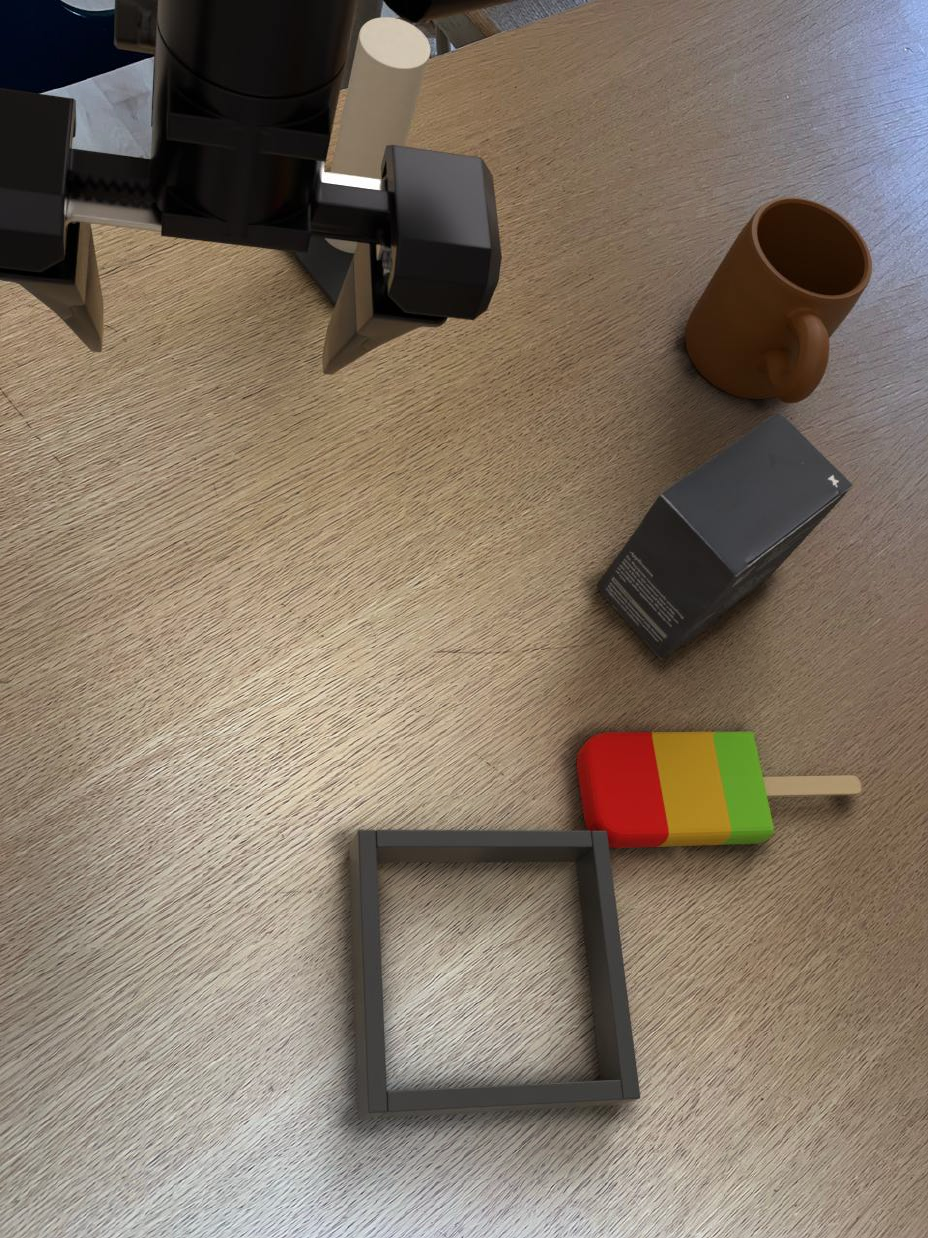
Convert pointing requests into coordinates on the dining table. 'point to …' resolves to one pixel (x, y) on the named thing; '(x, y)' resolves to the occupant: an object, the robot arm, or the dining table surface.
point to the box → (721, 533)
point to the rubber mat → (326, 266)
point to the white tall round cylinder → (379, 99)
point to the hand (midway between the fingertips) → (214, 354)
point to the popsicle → (686, 788)
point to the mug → (778, 301)
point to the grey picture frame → (601, 959)
